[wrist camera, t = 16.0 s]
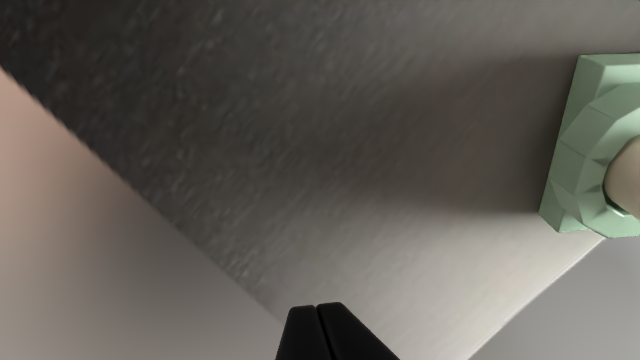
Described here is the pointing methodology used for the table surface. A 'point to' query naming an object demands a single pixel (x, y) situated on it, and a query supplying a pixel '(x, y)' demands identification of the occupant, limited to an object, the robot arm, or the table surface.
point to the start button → (625, 177)
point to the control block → (593, 146)
